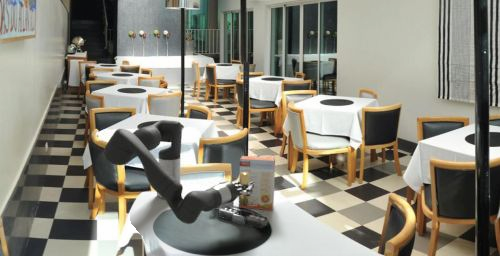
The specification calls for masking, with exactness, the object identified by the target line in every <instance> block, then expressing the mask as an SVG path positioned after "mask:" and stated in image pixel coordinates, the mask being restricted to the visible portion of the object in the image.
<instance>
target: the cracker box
mask: <svg viewBox="0 0 500 256" xmlns="http://www.w3.org/2000/svg"><path fill="white" fill-rule="evenodd" d="M275 168H276V157H270V156H269V157H266V156H265V157H264V156H252V155H251V156H250V155H249V156H247V155H241V157H240V159H239V174H240V173H241V172H247V173H249V183H250V182H254V187H253V188H252V193H251V195H250V196H248V205H247V206H241V205H239V204H238V208H239V209H240V208H241V209H243V208H244V209H255V210H258V209H259V210H270V211H272V210H273V208H274V202H275V201H274V200H275V199H274V198H275V174H276V173H275V172H276V171H275V170H276V169H275ZM238 177H239V178H238V179H239V180H238V181H240V176H238Z"/></svg>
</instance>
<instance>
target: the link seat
mask: <svg viewBox="0 0 500 256" xmlns="http://www.w3.org/2000/svg"><path fill="white" fill-rule="evenodd" d="M240 210H241V216H240V215H237V214H233V221H232V223H236V224H238V225H243V226H244V225H246V224H245V220H246V216H248V217H249V215H251V213H254V212H253V211H250V210H246V209H243V208H241V209H240Z"/></svg>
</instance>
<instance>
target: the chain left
mask: <svg viewBox="0 0 500 256" xmlns="http://www.w3.org/2000/svg"><path fill="white" fill-rule="evenodd" d="M241 210H242V209H240V208H237V207H236V208H235V207H233V208H232V207H228V206H225V208H223V209H218V217H219V216H221V217H224V218H223V219H225V218H227V219H226V220H228V219H229V221H231V222H233V214H237V215H240V216H241ZM221 217H220V218H221Z"/></svg>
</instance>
